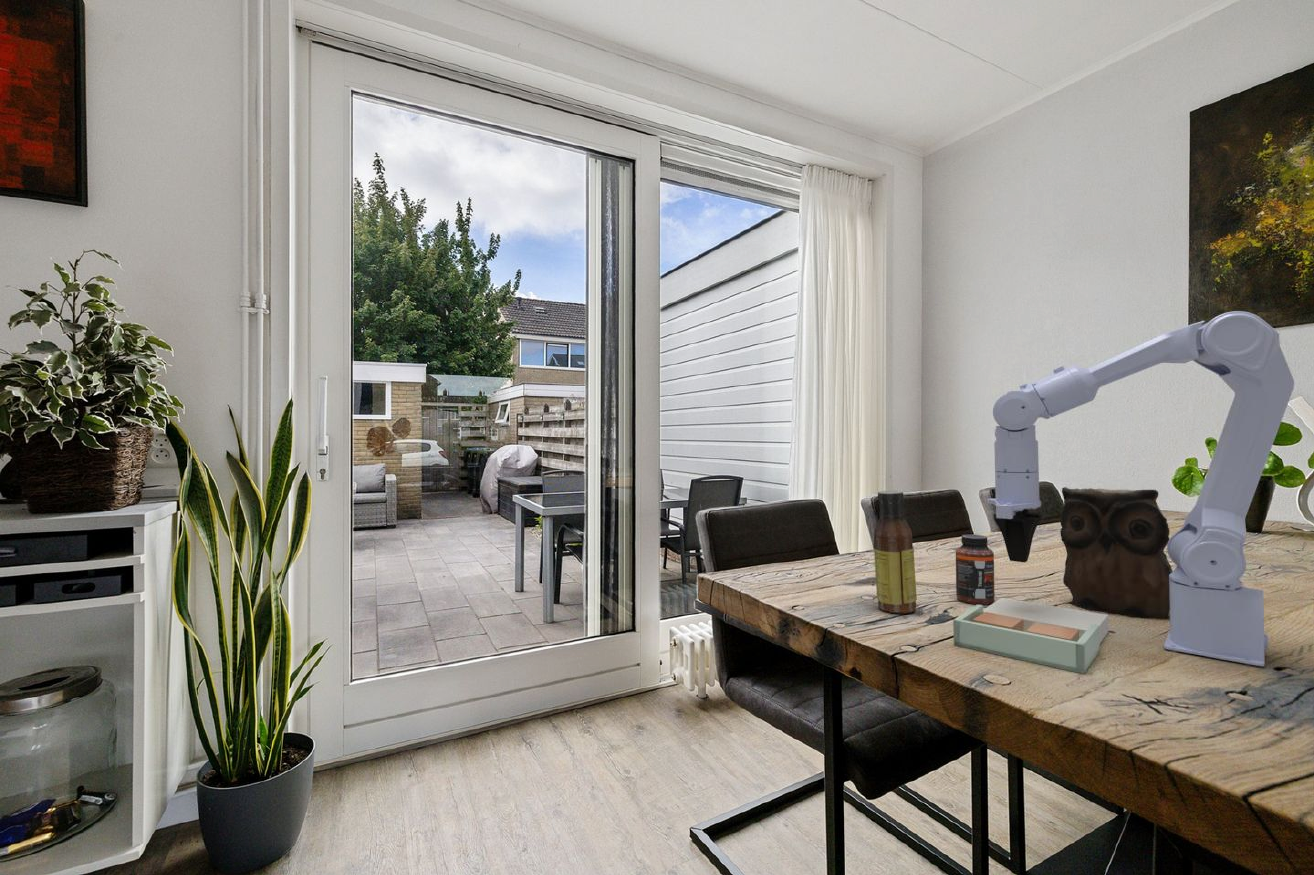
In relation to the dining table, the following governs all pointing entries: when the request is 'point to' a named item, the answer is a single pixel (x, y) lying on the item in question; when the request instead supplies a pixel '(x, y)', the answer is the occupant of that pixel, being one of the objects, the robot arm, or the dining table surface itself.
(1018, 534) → the robot arm
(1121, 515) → the owl
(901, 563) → the sauce bottle
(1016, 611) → the board
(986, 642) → the tray
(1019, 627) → the tile
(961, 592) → the supplement bottle
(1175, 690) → the dining table surface
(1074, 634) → the tile
